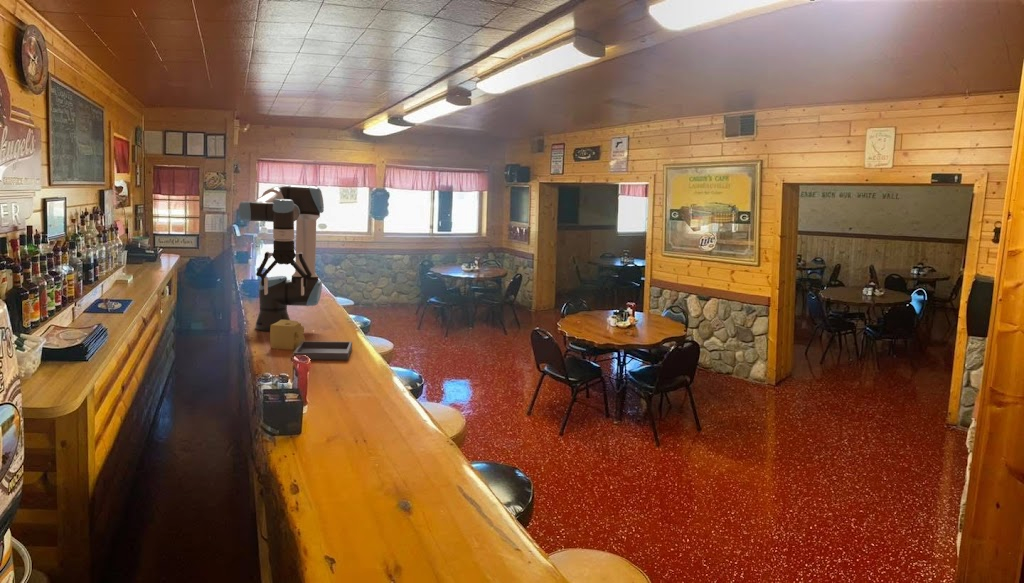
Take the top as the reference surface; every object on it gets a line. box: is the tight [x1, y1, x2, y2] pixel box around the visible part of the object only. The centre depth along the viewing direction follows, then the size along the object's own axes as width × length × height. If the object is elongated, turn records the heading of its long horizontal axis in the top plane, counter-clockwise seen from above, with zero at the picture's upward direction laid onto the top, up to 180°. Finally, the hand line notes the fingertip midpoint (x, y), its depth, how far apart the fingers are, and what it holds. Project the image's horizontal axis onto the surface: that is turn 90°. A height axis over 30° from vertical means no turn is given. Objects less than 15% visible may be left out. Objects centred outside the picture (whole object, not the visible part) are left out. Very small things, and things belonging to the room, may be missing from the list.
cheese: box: [269, 319, 306, 351], centre depth 262 cm, size 10×11×10 cm
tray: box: [292, 340, 353, 362], centre depth 254 cm, size 18×20×3 cm
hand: (284, 294), depth 250 cm, fingers open, 13 cm apart
